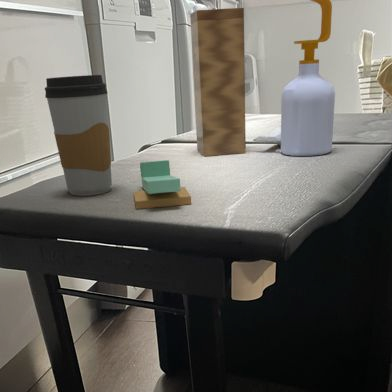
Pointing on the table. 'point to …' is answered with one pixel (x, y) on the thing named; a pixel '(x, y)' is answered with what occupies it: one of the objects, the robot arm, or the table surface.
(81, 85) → the coffee cup
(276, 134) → the toy fish
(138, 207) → the tan flat block
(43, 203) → the table surface
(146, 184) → the mint green chair
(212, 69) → the stand
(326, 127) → the soap bottle
